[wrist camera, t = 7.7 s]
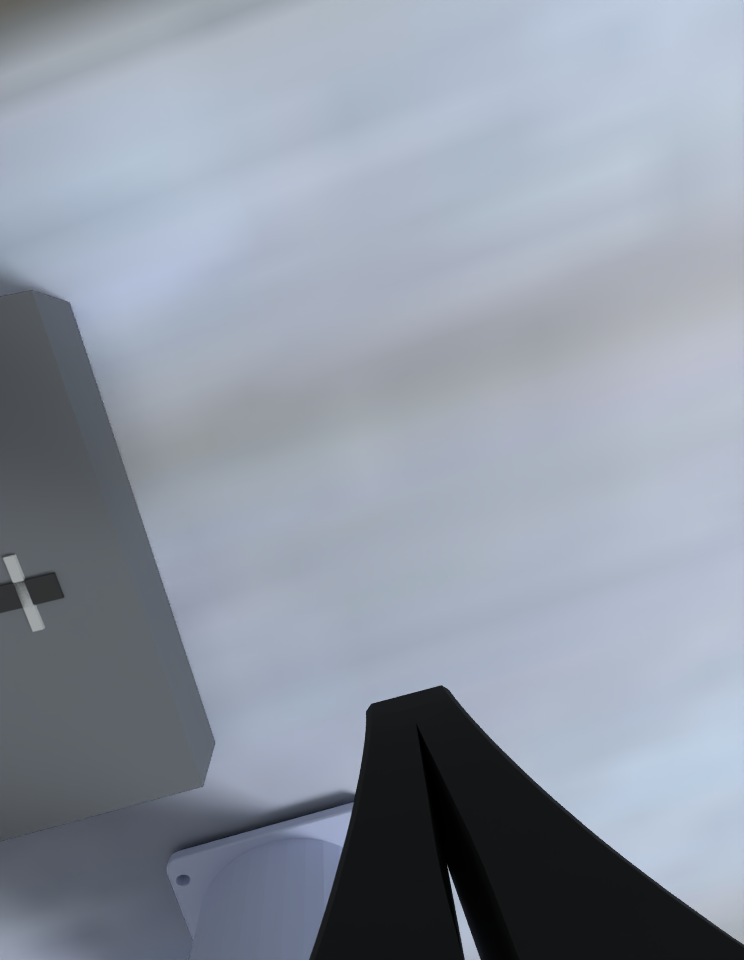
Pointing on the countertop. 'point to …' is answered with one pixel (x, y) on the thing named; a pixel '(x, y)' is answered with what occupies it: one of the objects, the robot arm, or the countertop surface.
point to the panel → (79, 599)
